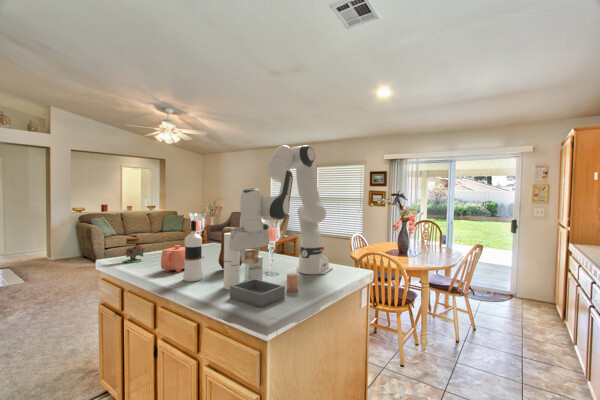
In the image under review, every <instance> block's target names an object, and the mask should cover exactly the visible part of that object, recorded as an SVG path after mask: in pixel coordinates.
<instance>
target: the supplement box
mask: <svg viewBox="0 0 600 400" xmlns="http://www.w3.org/2000/svg"><path fill="white" fill-rule="evenodd" d="M263 259H264V257H263V256H261V255H260V254H258V263H254V264H250V265H249V264H245V263H244V282H245V281H248V280H252V279H258V280H262V281H263Z"/></svg>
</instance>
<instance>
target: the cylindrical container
mask: <svg viewBox="0 0 600 400" xmlns="http://www.w3.org/2000/svg"><path fill="white" fill-rule="evenodd" d="M230 236H231V233H224V269H223V289H225V290H230V286H231V285H235V284H238V283H240V267H241V266H240V252H239V251H231V250H230V249H229V241H230Z"/></svg>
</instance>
